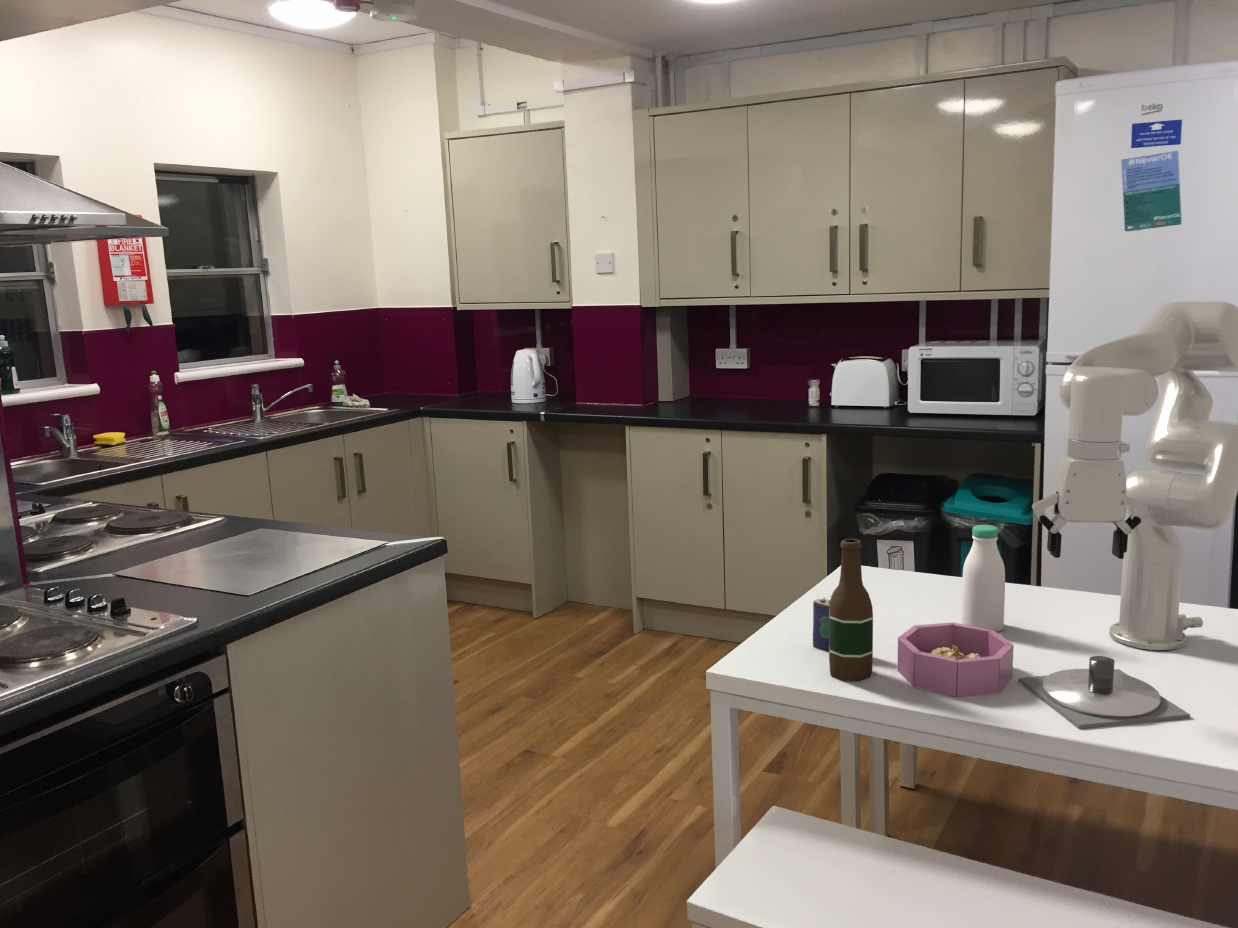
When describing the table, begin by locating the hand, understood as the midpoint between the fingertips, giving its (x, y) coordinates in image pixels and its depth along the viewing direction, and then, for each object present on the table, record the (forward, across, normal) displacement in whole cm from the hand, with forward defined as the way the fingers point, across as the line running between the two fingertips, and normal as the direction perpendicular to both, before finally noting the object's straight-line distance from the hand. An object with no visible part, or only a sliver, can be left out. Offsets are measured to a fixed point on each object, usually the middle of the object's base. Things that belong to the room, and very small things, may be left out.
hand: (1086, 556), depth 162 cm
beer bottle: (+24, +36, -6) cm, 43 cm away
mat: (+23, -2, +3) cm, 23 cm away
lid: (+22, -2, +3) cm, 22 cm away
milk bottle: (+22, +8, -29) cm, 38 cm away
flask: (+23, +37, -17) cm, 47 cm away
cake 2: (+23, +18, -7) cm, 30 cm away
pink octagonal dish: (+23, +18, -6) cm, 30 cm away
